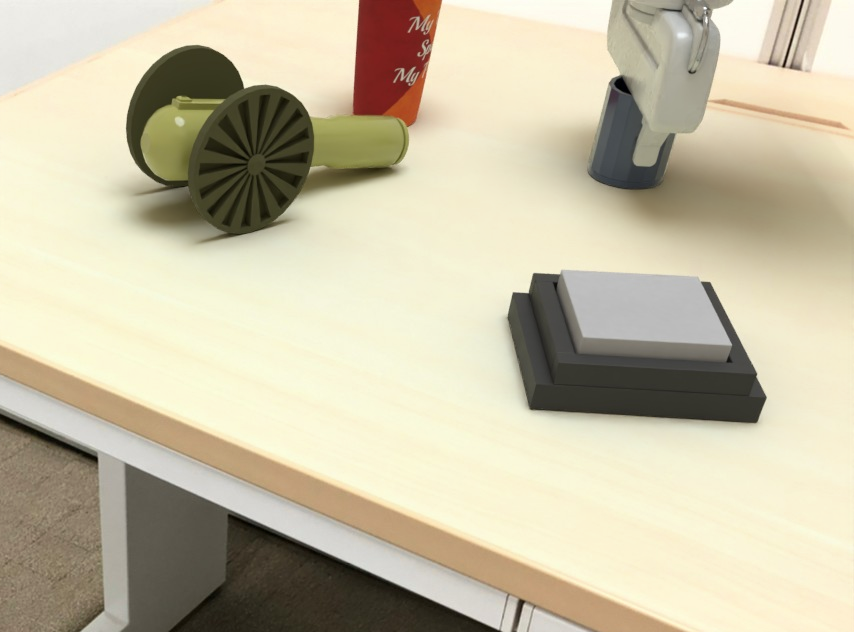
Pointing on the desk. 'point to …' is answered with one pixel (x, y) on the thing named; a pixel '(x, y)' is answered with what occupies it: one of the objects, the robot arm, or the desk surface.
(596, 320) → the pan
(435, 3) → the coffee cup
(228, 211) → the cannon
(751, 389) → the scale
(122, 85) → the desk surface
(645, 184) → the small cup
